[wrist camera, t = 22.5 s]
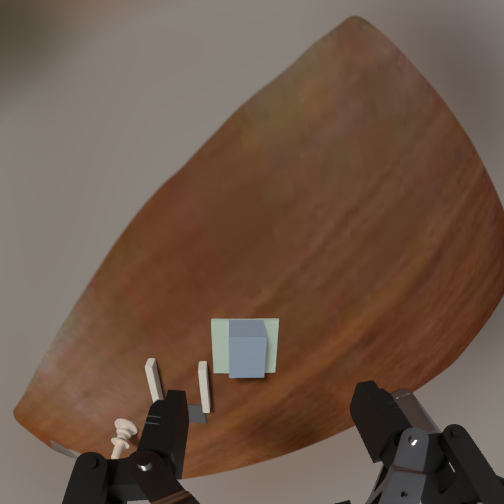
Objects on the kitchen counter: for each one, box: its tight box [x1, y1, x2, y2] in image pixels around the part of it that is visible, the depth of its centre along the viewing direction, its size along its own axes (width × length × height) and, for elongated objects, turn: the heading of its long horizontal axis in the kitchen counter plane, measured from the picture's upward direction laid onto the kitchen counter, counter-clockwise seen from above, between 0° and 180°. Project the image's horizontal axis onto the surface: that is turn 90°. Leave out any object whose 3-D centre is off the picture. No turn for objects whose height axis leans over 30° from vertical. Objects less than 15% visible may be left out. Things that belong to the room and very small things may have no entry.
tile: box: [211, 318, 279, 373], centre depth 42 cm, size 10×10×1 cm
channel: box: [145, 358, 211, 423], centre depth 43 cm, size 16×10×2 cm, turn 179°
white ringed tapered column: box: [111, 419, 138, 459], centre depth 41 cm, size 5×5×10 cm
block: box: [229, 320, 267, 378], centre depth 39 cm, size 7×5×5 cm
